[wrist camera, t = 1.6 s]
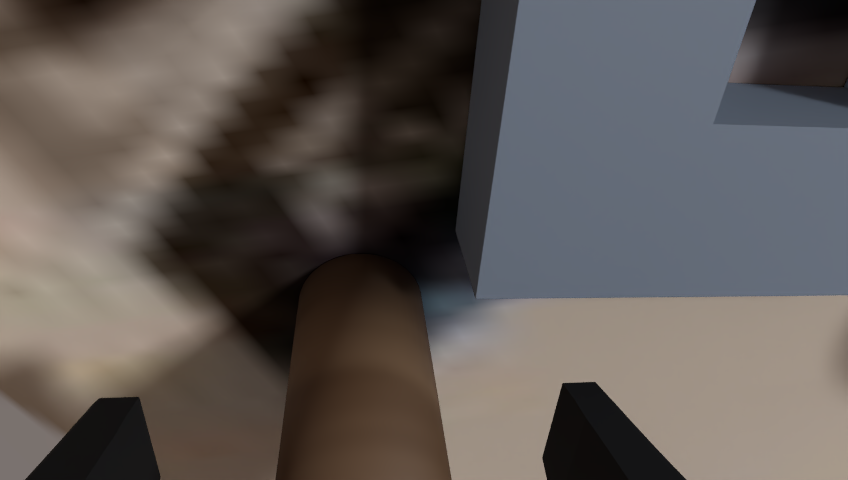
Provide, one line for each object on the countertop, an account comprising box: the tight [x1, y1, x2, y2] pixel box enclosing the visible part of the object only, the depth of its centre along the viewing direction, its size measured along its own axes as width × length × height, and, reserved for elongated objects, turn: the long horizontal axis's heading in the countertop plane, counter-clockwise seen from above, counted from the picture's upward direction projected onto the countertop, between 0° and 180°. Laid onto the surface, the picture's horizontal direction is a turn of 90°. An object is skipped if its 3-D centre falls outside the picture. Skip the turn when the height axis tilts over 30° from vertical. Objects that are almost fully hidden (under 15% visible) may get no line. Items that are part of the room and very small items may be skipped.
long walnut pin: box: [276, 254, 451, 480], centre depth 10 cm, size 3×3×7 cm
